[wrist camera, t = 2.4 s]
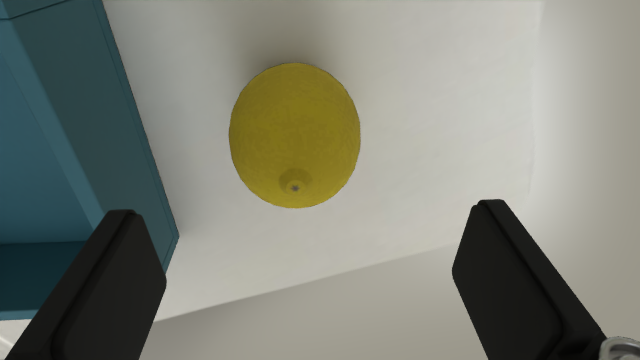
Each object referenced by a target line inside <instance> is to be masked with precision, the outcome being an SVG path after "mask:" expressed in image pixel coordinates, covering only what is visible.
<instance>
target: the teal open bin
mask: <svg viewBox="0 0 640 360" xmlns="http://www.w3.org/2000/svg"><path fill="white" fill-rule="evenodd" d="M117 209H133V210H134V211H136V213H137V214H141V215H142V217H143V219H144V221H145V224H146V226H147V229H148V232H149V234H150V237H151V239H152V242H153V244H154V247H155V250H156V252H157V255H158V257H159V260H160V262H161V265H162V268H163V270H164V273H165V274H166V271H167V269H168V266H169V263H170V261H171V258H172V255H173V253H174V250H175V247H176V244H177V242H178V239H179V234H178V231H177V228H176V225H175V222H174V219H173V216H172V213H171V210H170V207H169V204H168V201H167V198H166V195H165V192H164V189H163V186H162V183H161V180H160V177H159V174H158V171H157V168H156V165H155V162H154V159H153V156H152V152H151V149H150V146H149V143H148V140H147V137H146V134H145V131H144V128H143V125H142V122H141V119H140V116H139V113H138V110H137V107H136V104H135V101H134V98H133V95H132V92H131V89H130V86H129V83H128V80H127V77H126V74H125V71H124V68H123V65H122V62H121V59H120V56H119V53H118V50H117V47H116V43H115V40H114V37H113V34H112V31H111V28H110V25H109V22H108V19H107V16H106V13H105V10H104V7H103V4H102V1H101V0H0V321H1V320H21V319H33V317H34V316H35V315H36V313H37V312H38V310H39V309H40V307H41V306H42V305H43V303H44V302H45V300H46V299H47V297H48V296H49V295H50V293H51V292H52V290H53V289H54V287H55V286H56V284H57V283H58V282H59V280H60V279H61V277H62V276H63V274H64V273H65V272H66V270H67V269H68V267H69V266H70V264H71V263H72V262H73V260H74V259H75V257H76V256H77V254H78V253H79V252H80V250H81V249H82V247H83V246H84V244H85V243H86V241H87V240H88V239H89V237H90V236H91V234H92V233H93V231H94V230H95V229H96V227H97V226H98V224H99V223H100V221H101V220H102V219H103V217H104V216H105V214H106V213H107V212H108V211H109V210H117Z"/></svg>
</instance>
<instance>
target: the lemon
mask: <svg viewBox="0 0 640 360" xmlns="http://www.w3.org/2000/svg"><path fill="white" fill-rule="evenodd" d="M360 142H361V141H360V122H359V117H358V114H357V111H356V108H355V105H354V103H353V100H352V99H351V97H350V96H349V94H348V93H347V91H346V90H345V88H344V87H343V85H342V84H341V83H340V82H338V81H337V80H336V79H335V78H334V77H333V76H331V75H330V74H329V73H327V72H325V71H323V70H321V69H319V68H317V67H315V66H312V65H307V64H302V63H285V64H280V65H277V66H274V67H271V68H268V69H267V70H265V71H263V72H262V73H260V74H259V75H257V76H256V77H254V78H253V79H252V80H251V81H250V82H249V84H248V85H247V86H246V87H245V88H244V89H243V90H242V92H241V93H240V95H239V97H238V99H237V102H236V104H235V106H234V108H233V110H232V114H231V120H230V127H229V143H230V150H231V156H232V160H233V163H234V166H235V168H236V170H237V172H238V174H239V176H240V178H241V180H242V181H243V182H244V183H245V185H246V186H247V187H248V188H249V189H250V190H251V191H252V192H253V193H254V194H256V195H257V196H258V197H260V198H261V199H262V200H264V201H266V202H269V203H271V204H273V205H276V206H281V207H285V208H305V207H311V206H314V205H317V204H320V203H322V202H325V201H326V200H328V199H329V198H331V197H332V196H334V195H335V194H336V193H337V192H338V191H339V190H340V189H341V188H342V187H343V186H344V185H345V184H346V183H347V181H348V179H349V178H350V176H351V174H352V172H353V171H354V169H355V166H356V162H357V158H358V154H359V150H360Z"/></svg>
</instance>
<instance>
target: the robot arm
mask: <svg viewBox="0 0 640 360" xmlns="http://www.w3.org/2000/svg"><path fill="white" fill-rule="evenodd" d="M452 276H453V279H454V282H455V284H456V286H457V288H458V291H459V293H460V296H461V298H462V300H463V302H464V305H465V307H466V309H467V311H468V314H469V316H470V319H471V321H472V323H473V325H474V328H475V330H476V332H477V334H478V337H479V339H480V341H481V344H482V346H483V348H484V351H485V353H486V355H487V357H488V360H640V342H639V341H636V340H633V339H631V338H625V337H619V336H618V337H611V338H608V339H607V337H606V336H605V335H604V333H603V332H602V331H601V328H600V327H599V326H598V324H597V323H596V322H595V321H594V319H593V318H592V316H591V315H590V314H589V312H588V311H587V310H586V309H585V307H584V306H583V305H582V303H581V302H580V301H579V299H578V298H577V297H576V295H575V294H574V293H573V291H572V290H571V289H570V287H569V286H568V285H567V283H566V282H565V281H564V279H563V278H562V277H561V275H560V274H559V273H558V271H557V270H556V269H555V267H554V266H553V265H552V263H551V262H550V261H549V259H548V258H547V257H546V256H545V254H544V253H543V252H542V250H541V249H540V247H539V246H538V245H537V244H536V242H535V241H534V240H533V238H532V237H531V236H530V234H529V233H528V232H527V230H526V229H525V228H524V226H523V225H522V224H521V222H520V221H519V220H518V218H517V217H516V216H515V214H514V213H513V212H512V210H511V209H510V208H509V206H508V205H507V204H506V202H505V201H503V200H501V199H493V200H480V201H479V202H478V204H477V205H474V206H473V207H472V208H471V211H470V214H469V217H468V220H467V223H466V227H465V230H464V233H463V236H462V239H461V242H460V245H459V248H458V251H457V254H456V257H455V260H454V264H453V267H452ZM166 283H167V280H166V275H165V273H164V270H163V268H162V265H161V262H160V260H159V257H158V255H157V252H156V250H155V247H154V244H153V242H152V239H151V237H150V234H149V232H148V229H147V226H146V224H145V221H144V219H143V217H142V215H141V214H137V213H136V211H134V210H133V209H117V210H109V211H108V212H107V213H106V214H105V216H104V217H103V219H102V220H101V221H100V223H99V224H98V226H97V227H96V229H95V230H94V231H93V233H92V234H91V236H90V237H89V239H88V240H87V241H86V243H85V244H84V246H83V247H82V249H81V250H80V252H79V253H78V254H77V256H76V257H75V259H74V260H73V262H72V263H71V264H70V266H69V267H68V269H67V270H66V272H65V273H64V274H63V276H62V277H61V279H60V280H59V282H58V283H57V284H56V286H55V287H54V289H53V290H52V292H51V293H50V295H49V296H48V297H47V299H46V300H45V302H44V303H43V305H42V306H41V307H40V309H39V310H38V312H37V313H36V315H35V316H34V317H33V319H32V320H31V322H30V323H29V325H28V326H27V328H26V329H25V330H24V332H23V333H22V335H21V336H20V338H19V339H18V340H17V342H16V343H15V345H14V346H13V348H12V349H11V350H10V352H9V354H8V355H7V357H6V358H5V360H139V357H140V355H141V352H142V349H143V347H144V344H145V342H146V339H147V336H148V334H149V331H150V328H151V326H152V323H153V321H154V318H155V315H156V313H157V310H158V308H159V305H160V302H161V300H162V297H163V294H164V292H165V289H166Z"/></svg>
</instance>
